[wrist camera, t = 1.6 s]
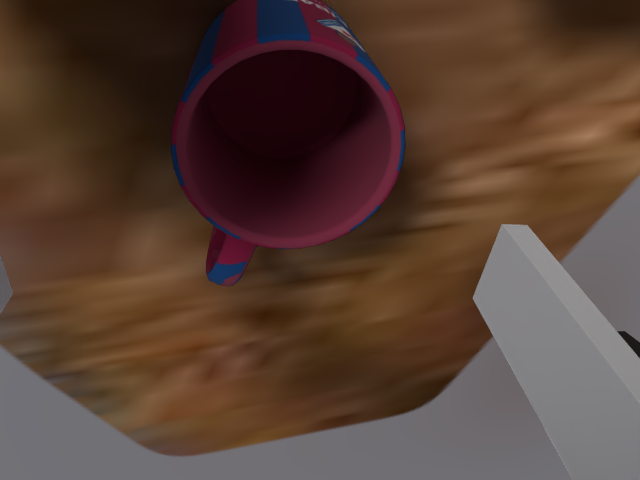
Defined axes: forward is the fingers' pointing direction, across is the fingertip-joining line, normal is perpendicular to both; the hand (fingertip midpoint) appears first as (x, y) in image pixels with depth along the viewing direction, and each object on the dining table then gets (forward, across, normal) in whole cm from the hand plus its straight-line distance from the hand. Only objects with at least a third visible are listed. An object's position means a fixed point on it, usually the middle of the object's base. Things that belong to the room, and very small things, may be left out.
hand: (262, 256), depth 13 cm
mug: (+9, 0, 0) cm, 9 cm away
